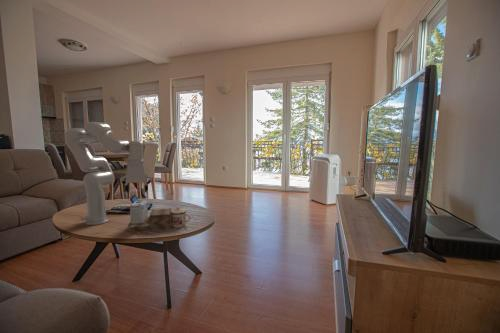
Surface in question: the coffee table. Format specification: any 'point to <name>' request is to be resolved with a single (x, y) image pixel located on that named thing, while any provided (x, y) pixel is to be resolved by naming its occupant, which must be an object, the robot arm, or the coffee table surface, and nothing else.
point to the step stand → (153, 221)
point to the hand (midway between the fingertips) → (136, 191)
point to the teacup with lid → (178, 217)
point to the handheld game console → (138, 200)
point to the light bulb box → (138, 212)
